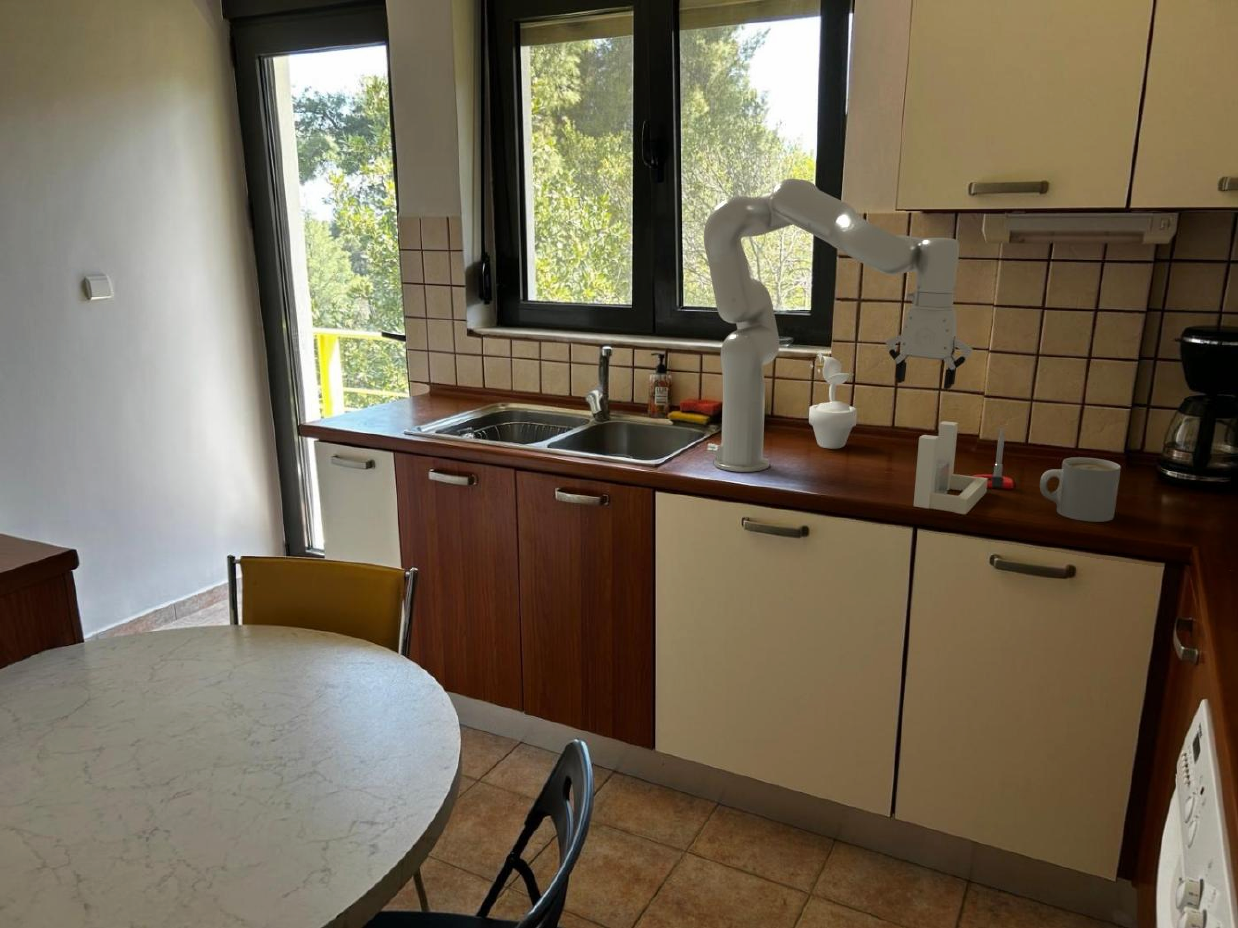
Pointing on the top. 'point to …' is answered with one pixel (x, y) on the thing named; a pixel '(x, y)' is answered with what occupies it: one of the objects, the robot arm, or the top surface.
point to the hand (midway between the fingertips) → (923, 385)
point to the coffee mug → (1084, 488)
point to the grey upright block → (941, 476)
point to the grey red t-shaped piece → (998, 469)
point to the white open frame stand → (926, 472)
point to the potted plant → (832, 409)
